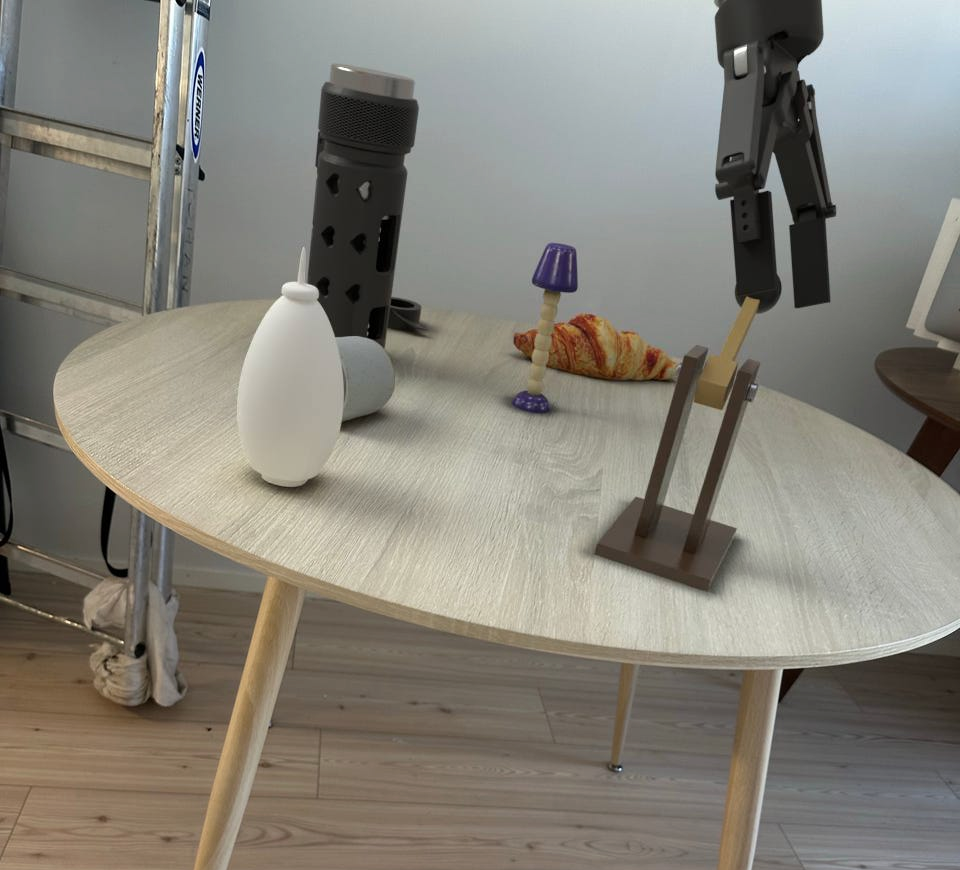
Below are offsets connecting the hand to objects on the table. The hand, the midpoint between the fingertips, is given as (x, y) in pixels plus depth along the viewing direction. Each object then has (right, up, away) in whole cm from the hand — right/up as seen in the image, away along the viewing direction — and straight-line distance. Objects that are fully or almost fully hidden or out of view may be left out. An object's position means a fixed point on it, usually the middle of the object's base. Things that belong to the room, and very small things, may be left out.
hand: (787, 299), depth 78 cm
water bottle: (-39, +5, +35) cm, 52 cm away
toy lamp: (-18, -1, +31) cm, 36 cm away
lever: (-3, -3, +2) cm, 5 cm away
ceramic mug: (-38, -5, +18) cm, 43 cm away
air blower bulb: (-39, -14, +3) cm, 41 cm away
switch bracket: (-8, -19, +5) cm, 21 cm away
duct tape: (-34, +13, +50) cm, 62 cm away
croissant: (-9, +7, +48) cm, 49 cm away
